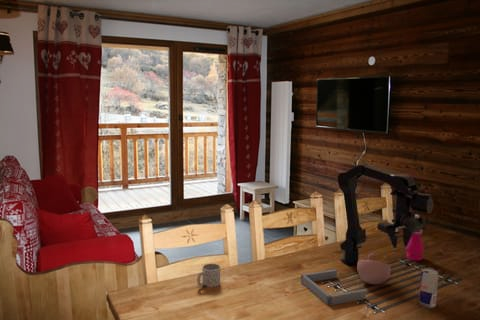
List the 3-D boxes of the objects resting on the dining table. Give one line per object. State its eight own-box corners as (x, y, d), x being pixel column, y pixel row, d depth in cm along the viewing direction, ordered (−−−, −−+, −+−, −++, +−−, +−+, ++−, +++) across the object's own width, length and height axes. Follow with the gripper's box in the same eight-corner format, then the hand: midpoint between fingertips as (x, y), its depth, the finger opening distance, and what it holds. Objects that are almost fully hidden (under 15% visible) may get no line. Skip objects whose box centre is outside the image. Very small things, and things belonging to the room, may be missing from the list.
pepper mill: (424, 261, 179) (428, 217, 176) (407, 260, 180) (410, 216, 177) (420, 255, 186) (424, 212, 183) (404, 254, 187) (407, 211, 184)
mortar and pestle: (389, 279, 161) (390, 251, 159) (389, 292, 150) (391, 262, 148) (357, 274, 165) (358, 247, 163) (355, 287, 154) (357, 257, 152)
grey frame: (300, 282, 157) (301, 274, 157) (334, 276, 163) (335, 269, 162) (328, 305, 139) (328, 297, 139) (365, 298, 145) (366, 290, 144)
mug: (212, 278, 160) (212, 262, 159) (223, 283, 155) (223, 267, 154) (191, 286, 153) (191, 269, 152) (203, 292, 148) (203, 274, 148)
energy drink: (415, 300, 143) (418, 268, 142) (430, 300, 144) (432, 267, 142) (423, 308, 138) (426, 274, 136) (438, 307, 139) (441, 274, 137)
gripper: (398, 215, 147) (395, 257, 149) (438, 211, 153) (435, 251, 155) (377, 207, 157) (375, 247, 159) (416, 204, 163) (413, 241, 166)
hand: (400, 246), depth 159 cm, fingers open, 5 cm apart
